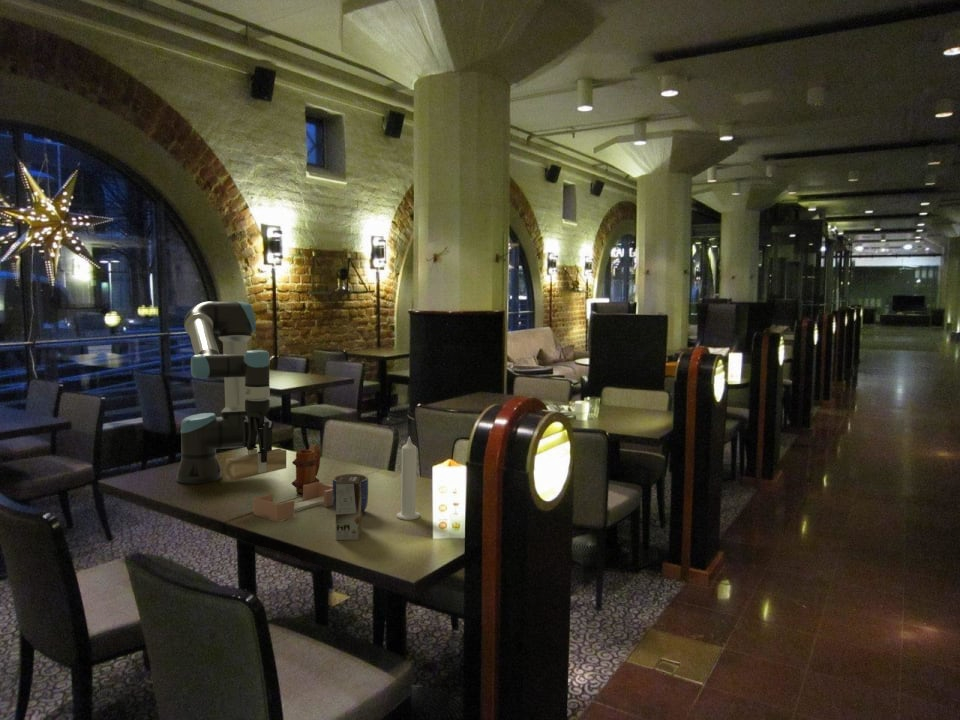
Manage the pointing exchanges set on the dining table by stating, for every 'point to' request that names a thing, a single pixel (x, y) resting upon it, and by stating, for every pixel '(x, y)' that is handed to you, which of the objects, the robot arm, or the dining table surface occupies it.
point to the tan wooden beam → (254, 464)
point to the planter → (363, 490)
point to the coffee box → (348, 507)
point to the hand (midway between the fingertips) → (257, 470)
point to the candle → (408, 482)
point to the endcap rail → (278, 512)
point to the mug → (306, 467)
